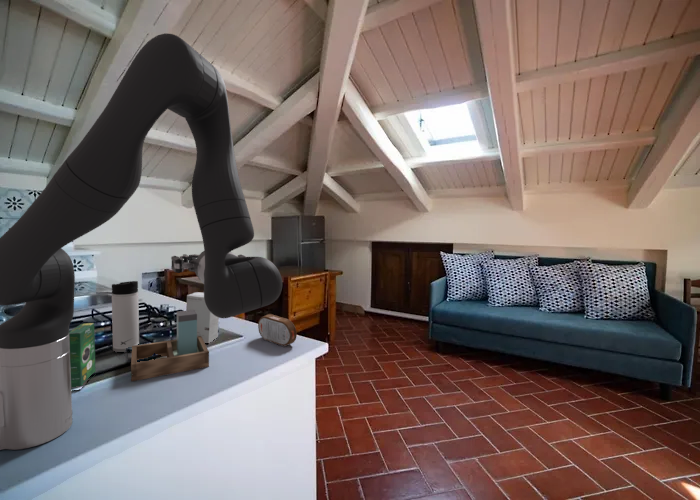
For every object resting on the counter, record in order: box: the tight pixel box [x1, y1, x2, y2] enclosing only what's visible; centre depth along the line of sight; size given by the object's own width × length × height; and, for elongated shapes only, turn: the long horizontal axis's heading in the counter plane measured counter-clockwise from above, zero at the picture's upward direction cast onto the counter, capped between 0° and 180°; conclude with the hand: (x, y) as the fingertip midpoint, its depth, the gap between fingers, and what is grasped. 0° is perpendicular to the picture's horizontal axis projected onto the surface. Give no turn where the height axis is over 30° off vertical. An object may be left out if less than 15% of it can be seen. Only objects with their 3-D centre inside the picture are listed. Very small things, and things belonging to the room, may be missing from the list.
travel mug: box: [111, 280, 140, 353], centre depth 93 cm, size 6×7×20 cm
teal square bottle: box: [176, 310, 197, 356], centre depth 88 cm, size 4×4×12 cm
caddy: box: [130, 336, 210, 382], centre depth 86 cm, size 17×13×4 cm
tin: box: [257, 313, 298, 347], centre depth 104 cm, size 15×3×8 cm, turn 58°
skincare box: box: [185, 291, 220, 344], centre depth 103 cm, size 8×6×15 cm
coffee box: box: [69, 322, 96, 387], centre depth 74 cm, size 8×3×13 cm, turn 19°
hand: (205, 258), depth 74 cm, fingers open, 8 cm apart
